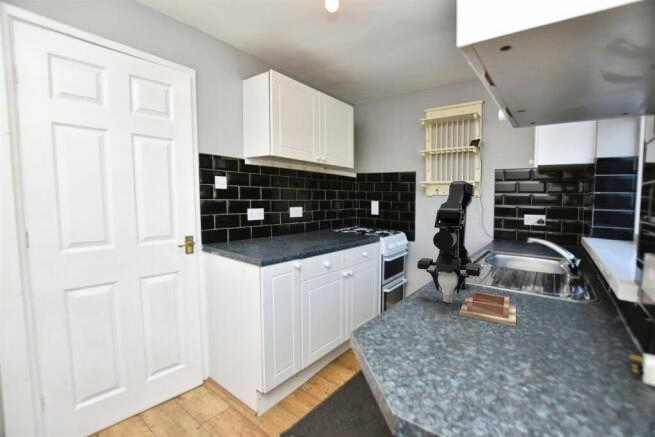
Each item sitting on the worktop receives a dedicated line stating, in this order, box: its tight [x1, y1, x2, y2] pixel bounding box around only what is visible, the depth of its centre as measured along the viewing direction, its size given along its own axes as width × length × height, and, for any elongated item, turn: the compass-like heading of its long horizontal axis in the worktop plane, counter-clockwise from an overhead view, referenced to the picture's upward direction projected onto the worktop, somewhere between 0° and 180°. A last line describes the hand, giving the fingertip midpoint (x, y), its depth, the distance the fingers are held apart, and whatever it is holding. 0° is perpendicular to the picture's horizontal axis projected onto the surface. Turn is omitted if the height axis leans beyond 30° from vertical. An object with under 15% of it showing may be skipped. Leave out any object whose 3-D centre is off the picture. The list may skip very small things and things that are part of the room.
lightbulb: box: [438, 271, 459, 304], centre depth 97 cm, size 6×6×11 cm
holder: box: [459, 290, 517, 328], centre depth 89 cm, size 14×14×4 cm
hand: (447, 292), depth 97 cm, fingers closed on lightbulb, 6 cm apart
